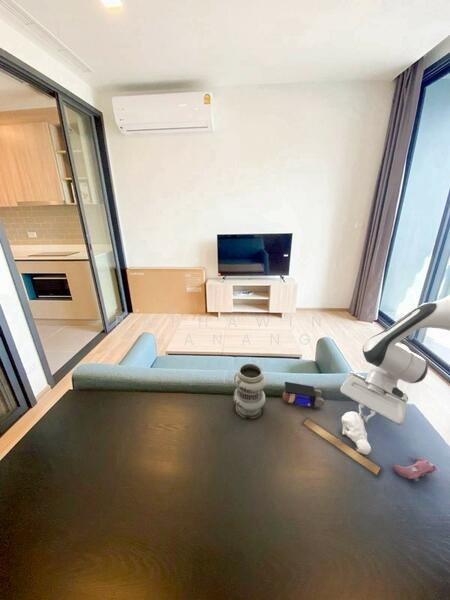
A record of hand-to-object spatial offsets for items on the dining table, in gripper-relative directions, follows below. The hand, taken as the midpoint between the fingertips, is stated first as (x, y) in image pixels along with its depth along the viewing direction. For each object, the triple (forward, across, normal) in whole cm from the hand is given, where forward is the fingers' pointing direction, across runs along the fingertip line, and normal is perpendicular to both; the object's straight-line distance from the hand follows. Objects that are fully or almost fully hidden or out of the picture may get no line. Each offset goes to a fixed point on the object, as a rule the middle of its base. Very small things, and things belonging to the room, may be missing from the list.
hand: (362, 419), depth 84 cm
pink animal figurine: (+6, +17, 0) cm, 18 cm away
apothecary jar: (+20, -32, -13) cm, 40 cm away
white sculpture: (+8, +1, -1) cm, 8 cm away
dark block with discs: (+7, -20, 0) cm, 21 cm away
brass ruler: (+11, -2, -5) cm, 12 cm away
